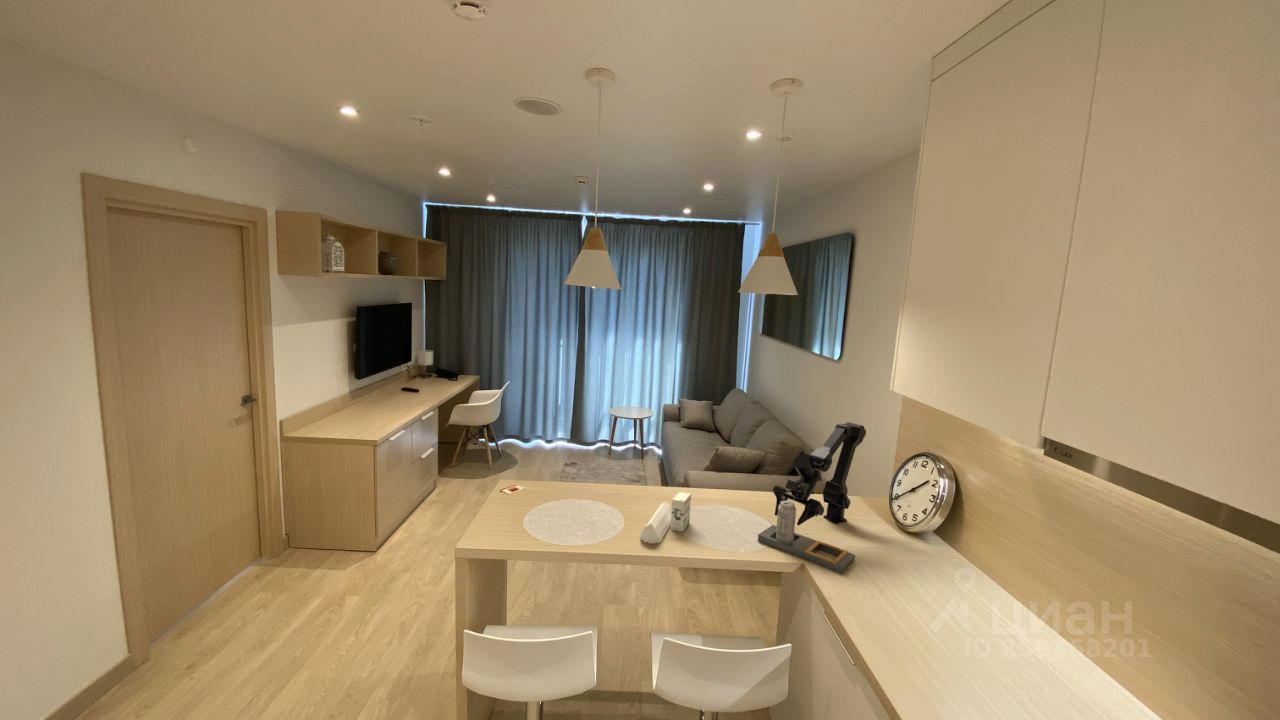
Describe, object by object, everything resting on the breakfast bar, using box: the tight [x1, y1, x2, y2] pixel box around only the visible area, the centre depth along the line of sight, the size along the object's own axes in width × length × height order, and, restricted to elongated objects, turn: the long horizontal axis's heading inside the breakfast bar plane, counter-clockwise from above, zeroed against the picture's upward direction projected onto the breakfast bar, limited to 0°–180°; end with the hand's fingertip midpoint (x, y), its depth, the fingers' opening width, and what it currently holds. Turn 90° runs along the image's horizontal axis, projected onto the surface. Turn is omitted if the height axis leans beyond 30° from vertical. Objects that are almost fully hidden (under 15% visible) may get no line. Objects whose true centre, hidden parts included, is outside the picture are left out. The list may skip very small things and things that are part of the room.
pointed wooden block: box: [639, 501, 672, 544], centre depth 188 cm, size 7×7×24 cm
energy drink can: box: [775, 500, 797, 545], centre depth 180 cm, size 6×6×15 cm
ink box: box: [670, 491, 692, 532], centre depth 191 cm, size 9×5×12 cm, turn 157°
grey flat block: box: [757, 524, 856, 575], centre depth 176 cm, size 30×11×3 cm, turn 48°
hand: (786, 519), depth 180 cm, fingers open, 9 cm apart
